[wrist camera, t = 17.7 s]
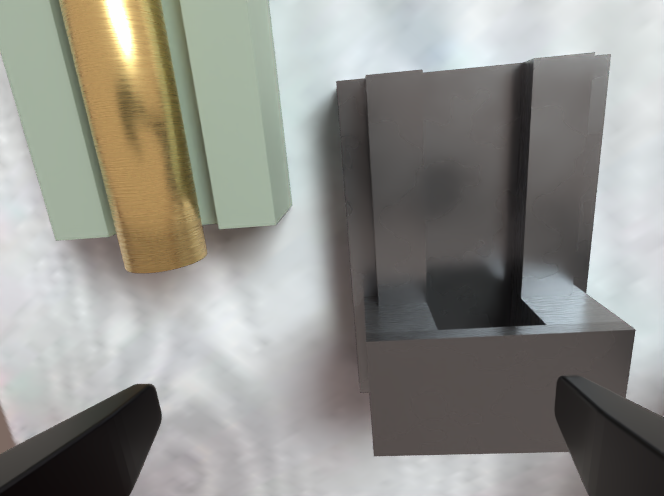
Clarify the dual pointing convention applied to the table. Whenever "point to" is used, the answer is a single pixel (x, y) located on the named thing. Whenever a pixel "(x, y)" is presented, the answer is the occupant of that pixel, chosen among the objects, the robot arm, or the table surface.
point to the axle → (137, 130)
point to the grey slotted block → (476, 251)
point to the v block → (195, 101)
